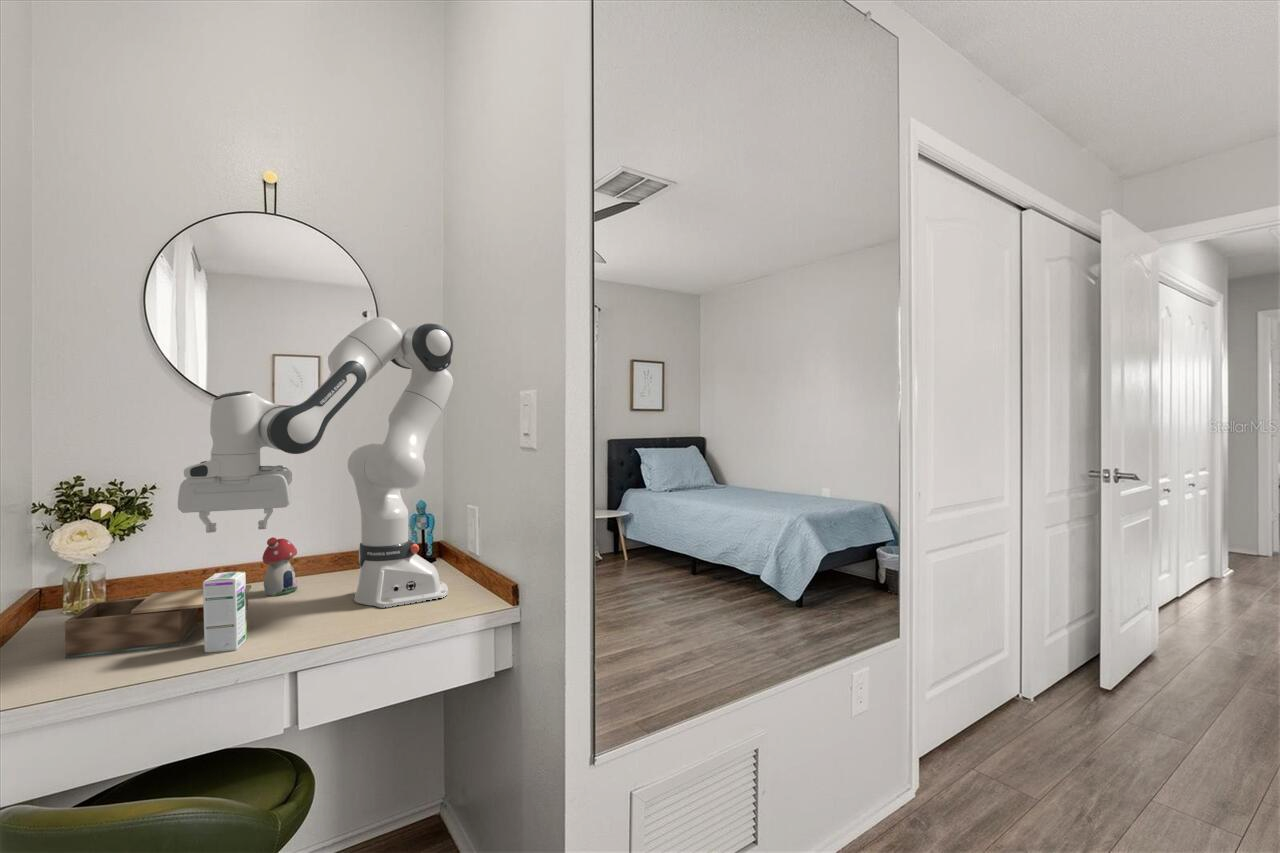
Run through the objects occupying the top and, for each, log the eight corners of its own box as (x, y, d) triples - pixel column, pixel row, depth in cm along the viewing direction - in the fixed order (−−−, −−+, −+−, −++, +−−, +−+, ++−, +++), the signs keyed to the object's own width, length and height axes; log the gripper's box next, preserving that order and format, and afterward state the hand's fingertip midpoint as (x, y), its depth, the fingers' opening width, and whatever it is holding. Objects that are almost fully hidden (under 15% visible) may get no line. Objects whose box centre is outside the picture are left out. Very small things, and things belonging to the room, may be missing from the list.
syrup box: (237, 650, 119) (237, 578, 118) (202, 653, 117) (202, 580, 117) (247, 639, 124) (247, 570, 124) (214, 642, 123) (214, 572, 122)
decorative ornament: (271, 599, 150) (271, 539, 149) (253, 595, 152) (253, 537, 152) (305, 589, 159) (304, 533, 158) (287, 586, 161) (287, 530, 161)
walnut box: (197, 624, 132) (197, 593, 132) (180, 644, 121) (180, 610, 121) (93, 635, 125) (93, 602, 125) (65, 658, 114) (64, 621, 114)
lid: (251, 587, 136) (251, 567, 136) (239, 603, 125) (239, 581, 124) (153, 595, 129) (152, 574, 129) (131, 613, 118) (130, 590, 117)
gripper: (293, 463, 136) (294, 524, 136) (183, 466, 128) (185, 531, 128) (289, 466, 130) (290, 529, 130) (174, 470, 122) (175, 537, 122)
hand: (237, 530), depth 129 cm, fingers open, 8 cm apart
